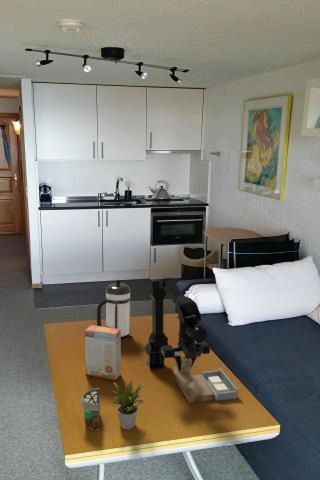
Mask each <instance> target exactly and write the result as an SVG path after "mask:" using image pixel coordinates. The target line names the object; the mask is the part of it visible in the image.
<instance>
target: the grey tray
mask: <svg viewBox="0 0 320 480" xmlns="http://www.w3.org/2000/svg"><path fill="white" fill-rule="evenodd" d="M199 375H201V377H202V378H203V380H204V381H205V382H206V384H207V385H208V387H209V388H210V389H211V391H212V392H213V394H214V400H213V401H215V402H221V401H229V400H237V399H238V395H239V394H238V391H239V389H238V388H237V387H236V386H235V384H234V383H233V382H232V380H231V379H230V378H229V376H228V375H227V374H226V373H225V372H224V370H222V368H221V367H219V368H218V370H210V371H202V372H201V374H199ZM214 376H218V377H219V378H220V379H221V380H222V384H225V386H226V387H227V388H228V392H221V393H217V394H216V393H215V391H214V390H213V387H211V385H210V384H209V383H208V377H214Z"/></svg>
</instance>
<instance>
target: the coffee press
mask: <svg viewBox="0 0 320 480" xmlns="http://www.w3.org/2000/svg"><path fill="white" fill-rule="evenodd" d="M104 290H105V293H106V294H105V299H102V300H101V301H100V302H99V303H98V305H97V308H96V326H101V327H103V326H102V307H103V306H104V305H105V327H108V328H114V329H121V338H122V337H125V336H129V337H130V336H131V335H132V336H133V333H132V331H131V291H132V289H131V288H130V286H129V285H127V284H125V283H122V282H121V280H120V279H117V280H115V283H111V284H109V285H107V287H106V288H105V289H104ZM130 334H131V335H130Z"/></svg>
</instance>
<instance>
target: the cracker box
mask: <svg viewBox="0 0 320 480" xmlns="http://www.w3.org/2000/svg"><path fill="white" fill-rule="evenodd" d="M101 326H102V325H101ZM101 326H97V325H94V324H92V325H90V326H88V327H87V328H86V329H85V330H84V333H85V334H84V335H85V337H84V338H85V339H84V340H85V341H84V342H85V375H86V376H90V377H95V378H99V379H106V380H111V381H117V379H118V378H119V377H120V376H121V372H122V371H121V369H122V367H121V363H122V360H121V356H122V355H121V353H122V347H121V344H122V343H121V342H122V339H121V338H122V337H121V329H114V328H108V327H106V326H102V327H101Z"/></svg>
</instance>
